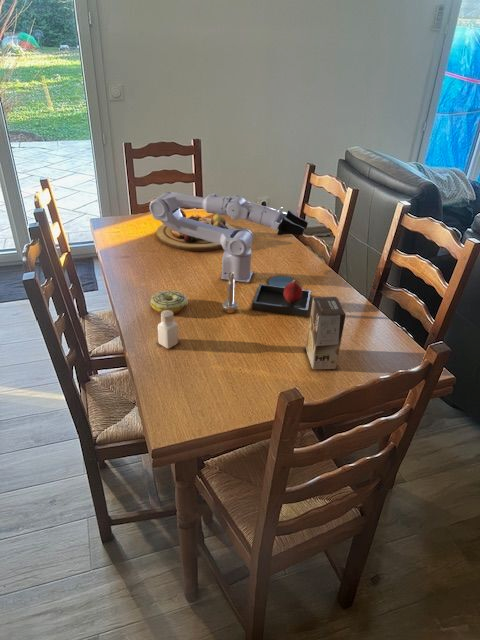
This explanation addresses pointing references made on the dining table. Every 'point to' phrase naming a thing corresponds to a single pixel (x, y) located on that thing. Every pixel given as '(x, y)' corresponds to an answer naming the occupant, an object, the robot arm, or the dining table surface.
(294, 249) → the dining table surface
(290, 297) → the onion
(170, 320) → the salt shaker
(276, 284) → the mat
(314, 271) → the dining table surface
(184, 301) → the decorated donut
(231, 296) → the screw
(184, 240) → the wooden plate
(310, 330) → the coffee box
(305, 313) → the tray
